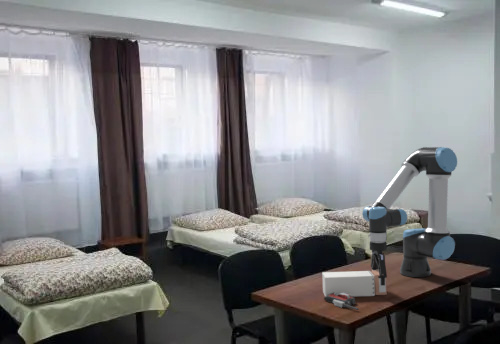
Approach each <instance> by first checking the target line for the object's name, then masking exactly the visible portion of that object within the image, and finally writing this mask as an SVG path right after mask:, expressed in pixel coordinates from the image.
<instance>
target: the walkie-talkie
mask: <svg viewBox="0 0 500 344" xmlns="http://www.w3.org/2000/svg"><path fill="white" fill-rule="evenodd" d="M323 299H324V300H325V301H326V302H328V303H332V304H333V305H334V306H335V307H338V308H341V309H342V307H343V308H347V309H351V310H357V311H359V308H358V307H356V306H353V305H355V304H356V298H355V297H350V295H349V294H345V293H340V294H338V292H336V293H330V294H327V297H325V296H324V297H323ZM352 304H353V305H352Z"/></svg>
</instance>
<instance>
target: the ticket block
mask: <svg viewBox="0 0 500 344" xmlns="http://www.w3.org/2000/svg"><path fill="white" fill-rule="evenodd" d="M321 275H322V276H321V278H322V279H321V280H322V293H323V295H324V297H327V294H330V293H336V292H338V294H340V293H345V294H349V295H350V297H353V298H355V297H374V296H376V295H375V283H374V275H373V274H372V273H371V271H370V270H357V271H355V270H354V271H326V272H325V271H322V274H321Z"/></svg>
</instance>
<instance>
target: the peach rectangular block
mask: <svg viewBox="0 0 500 344" xmlns="http://www.w3.org/2000/svg"><path fill="white" fill-rule="evenodd" d="M370 272H371V273H372V274H373V275H374V283H375V296H385V295H386V296H387V295H388V294H387V291H388V289H387V288H388V285H387V282H388V281H387V278H386V292H379V278H378V276H379V270H378V269H376V271H372V270H371V271H370ZM382 275H383V274H382Z"/></svg>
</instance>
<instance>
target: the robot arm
mask: <svg viewBox="0 0 500 344" xmlns="http://www.w3.org/2000/svg"><path fill="white" fill-rule="evenodd" d="M457 166H458V158H457V155H456V153H455V152H454V150H453V149H452V148H450V147H444V146H443V147H442V146H437V147H436V146H434V147H433V146H432V147H431V146H430V147H426V146H423V147H420V148H418V149H416V150H414V151H413V152H412V153H411V154H409V155H408V156H407V157H406V158H405V159H404V161H403V162H402V163H401V165H400V169H399V170H398V171H397V173H396V174H395V175H394V177H393V178H392V180H390V182H389V183H388V184H387V186H386V187H385V188H384V190H383V191H382V192H381V194H379V196H378V197H377V198H376V200H375V201H374V202H373V203H372V205H369V206H365V207H364V208H363V209H362V214H361V215H362V217H363V220H365V221H367V222H368V229H369V234H368V237H369V250H370V251H371V260H370V261H371V263H370V267H371V271H376V270H379V276H378V278H379V292H386V279H387V278H388V275H387V265H386V255H385V254H384V253H383V252H384V251H387V249H388V246H387V243H388V242H387V239H388V235H387V228H390V227H397V226H398V227H399V226H402V225H405V224H406V223H407V222H408V214H407V211H406V210H405V209H402V208H395V209H391V207H392V206H393V205H394V203H396V201H397V200H398V198H399V197H400V196H401V194H403V192H404V191H405V189H406V188H407V187H408V185H409V184H410V183H411V182H412V180H413V179H414V177H418V176H419V174H420V173H422V172H425V176H427V178H428V206H427V207H428V210H427V213H428V215H427V227H426V228H422V227H421V228H409V229H405V230H403V233H402V249H403V250H402V253H403V258H402V262H401V264H400V268H399V274H400V275H403V276H405V277H410V278H411V277H412V278H425V277H429V276H431V274H432V269H431V266H430V263H429V259H428V258H432V259H436V260H447V259H449V258H450V257H451V255H453V254H454V251H455V248H456V247H455V246H456V241H455V240H454V238H453V237H451V234H450V233H451V232H450V230H449V229H448V228H447V227H448V226H447V224H448V223H447V222H448V221H447V220H448V194H449V193H448V190H449V188H448V187H449V185H448V184H449V178H450V177H452V172H454V171H456V168H457ZM382 274H383V275H382Z"/></svg>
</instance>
